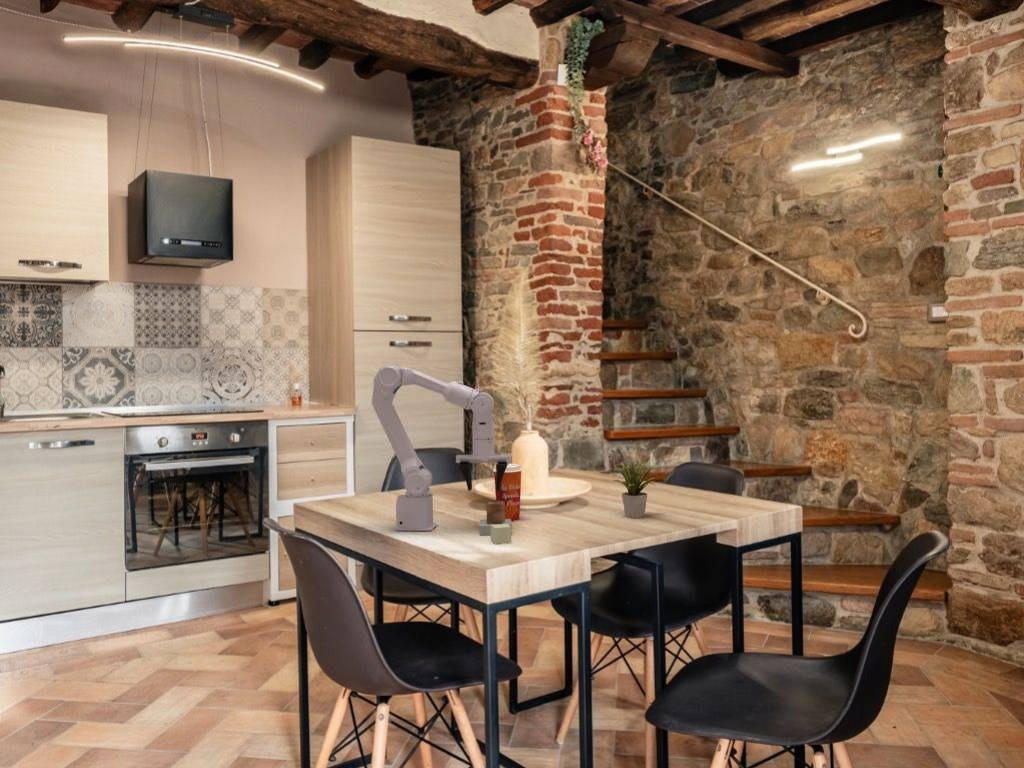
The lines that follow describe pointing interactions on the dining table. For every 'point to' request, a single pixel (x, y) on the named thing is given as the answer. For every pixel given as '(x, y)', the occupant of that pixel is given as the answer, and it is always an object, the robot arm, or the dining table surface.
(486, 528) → the base block
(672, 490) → the dining table surface
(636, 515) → the house plant
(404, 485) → the robot arm
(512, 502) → the coffee cup
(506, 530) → the sage block
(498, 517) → the walnut block
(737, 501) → the dining table surface
